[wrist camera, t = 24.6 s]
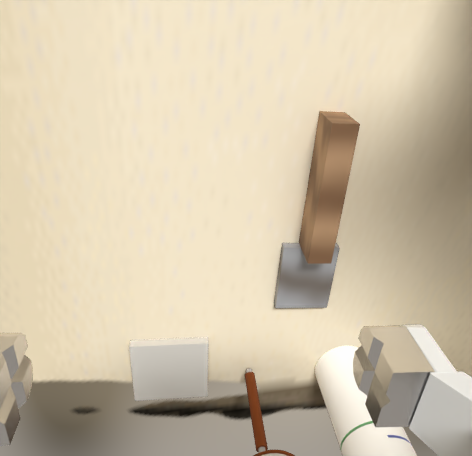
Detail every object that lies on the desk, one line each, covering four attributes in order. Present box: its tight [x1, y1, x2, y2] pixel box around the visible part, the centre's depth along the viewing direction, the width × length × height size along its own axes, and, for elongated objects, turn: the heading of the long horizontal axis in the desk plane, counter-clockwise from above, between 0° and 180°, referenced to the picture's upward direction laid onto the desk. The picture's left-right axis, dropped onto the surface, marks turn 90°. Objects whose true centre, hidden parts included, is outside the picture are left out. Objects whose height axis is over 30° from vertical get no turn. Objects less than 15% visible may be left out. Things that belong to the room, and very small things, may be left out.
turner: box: [274, 111, 360, 308], centre depth 44 cm, size 22×6×4 cm, turn 176°
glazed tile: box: [129, 337, 208, 401], centre depth 53 cm, size 9×2×9 cm
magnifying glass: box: [245, 368, 294, 456], centre depth 46 cm, size 9×2×20 cm, turn 112°
